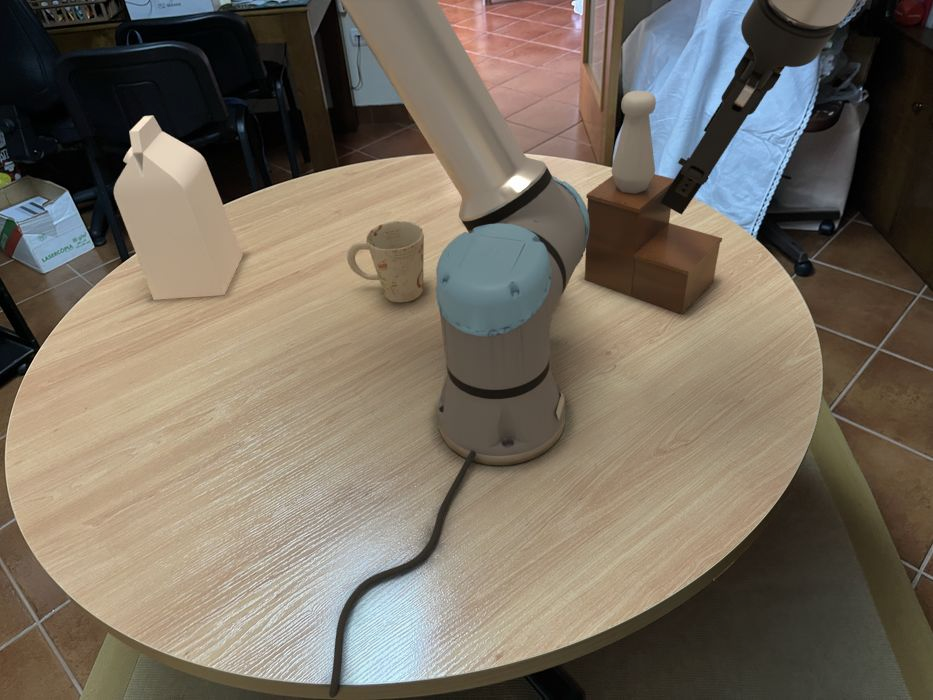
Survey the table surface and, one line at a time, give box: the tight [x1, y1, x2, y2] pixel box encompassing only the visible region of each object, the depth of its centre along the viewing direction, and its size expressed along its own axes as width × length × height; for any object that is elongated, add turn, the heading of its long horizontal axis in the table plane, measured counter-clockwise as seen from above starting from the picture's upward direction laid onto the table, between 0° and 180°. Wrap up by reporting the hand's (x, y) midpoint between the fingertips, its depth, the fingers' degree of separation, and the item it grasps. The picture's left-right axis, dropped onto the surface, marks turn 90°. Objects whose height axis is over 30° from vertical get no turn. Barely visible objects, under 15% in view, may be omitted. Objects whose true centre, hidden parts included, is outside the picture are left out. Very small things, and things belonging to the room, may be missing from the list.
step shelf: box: [584, 173, 723, 315], centre depth 99 cm, size 10×16×14 cm, turn 50°
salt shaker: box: [611, 90, 657, 194], centre depth 93 cm, size 6×6×13 cm
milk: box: [113, 115, 244, 301], centre depth 106 cm, size 12×12×26 cm
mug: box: [346, 220, 425, 303], centre depth 104 cm, size 8×13×10 cm, turn 78°
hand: (693, 169), depth 79 cm, fingers open, 13 cm apart
